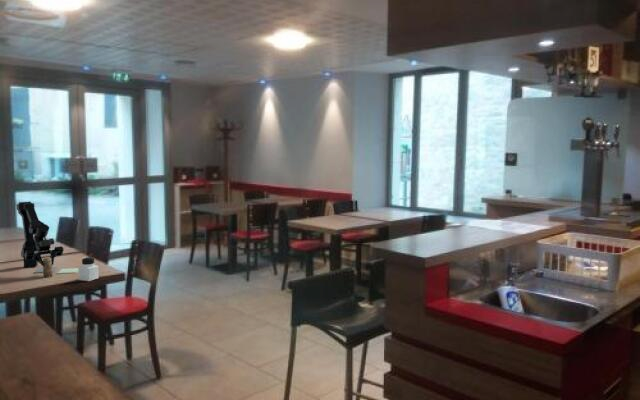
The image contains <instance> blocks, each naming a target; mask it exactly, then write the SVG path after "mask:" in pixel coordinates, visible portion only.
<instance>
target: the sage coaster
mask: <svg viewBox="0 0 640 400" xmlns="http://www.w3.org/2000/svg"><path fill="white" fill-rule="evenodd" d="M78 268H79V267H77V268H76V267H75V268H74V267H73V268H71V267H70V268H61V269H60V270H59V271H58V272H57V274H58V275H60V274H61V275H62V274H64V275H65V274H77V273H79V270H78Z"/></svg>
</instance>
